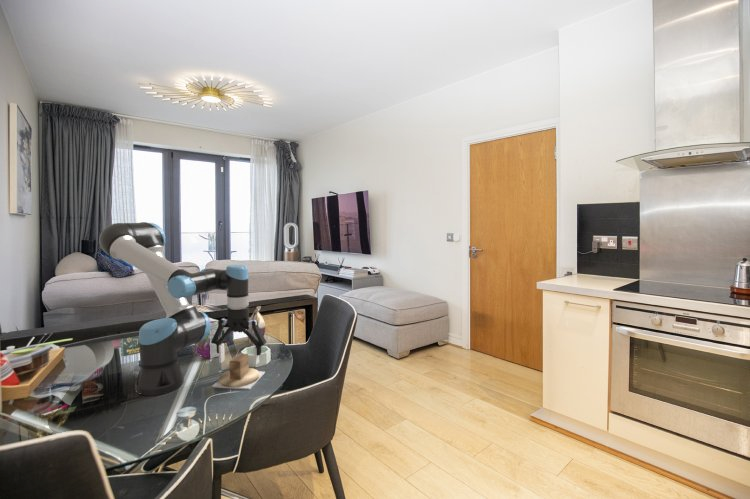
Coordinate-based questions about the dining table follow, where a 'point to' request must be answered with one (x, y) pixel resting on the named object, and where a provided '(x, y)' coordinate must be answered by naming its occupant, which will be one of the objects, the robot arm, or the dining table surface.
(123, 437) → the dining table surface
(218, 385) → the mat
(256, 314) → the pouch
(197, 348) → the candy bar box
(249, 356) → the bowl
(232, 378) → the lid
